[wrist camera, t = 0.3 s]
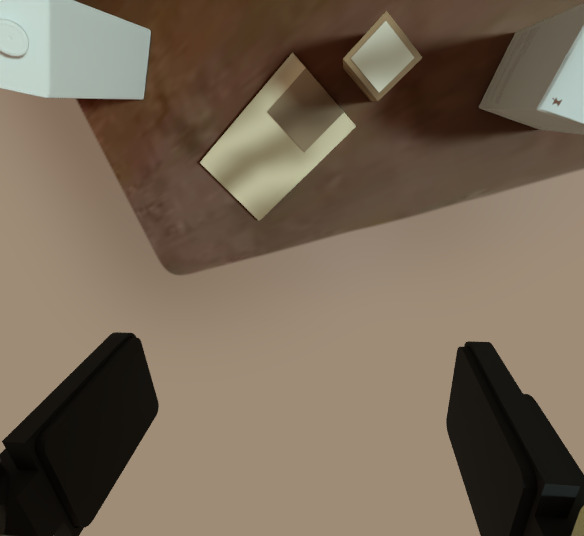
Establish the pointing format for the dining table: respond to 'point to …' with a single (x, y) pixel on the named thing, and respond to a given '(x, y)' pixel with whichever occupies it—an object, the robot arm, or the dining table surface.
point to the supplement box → (543, 75)
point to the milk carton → (70, 51)
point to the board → (277, 139)
